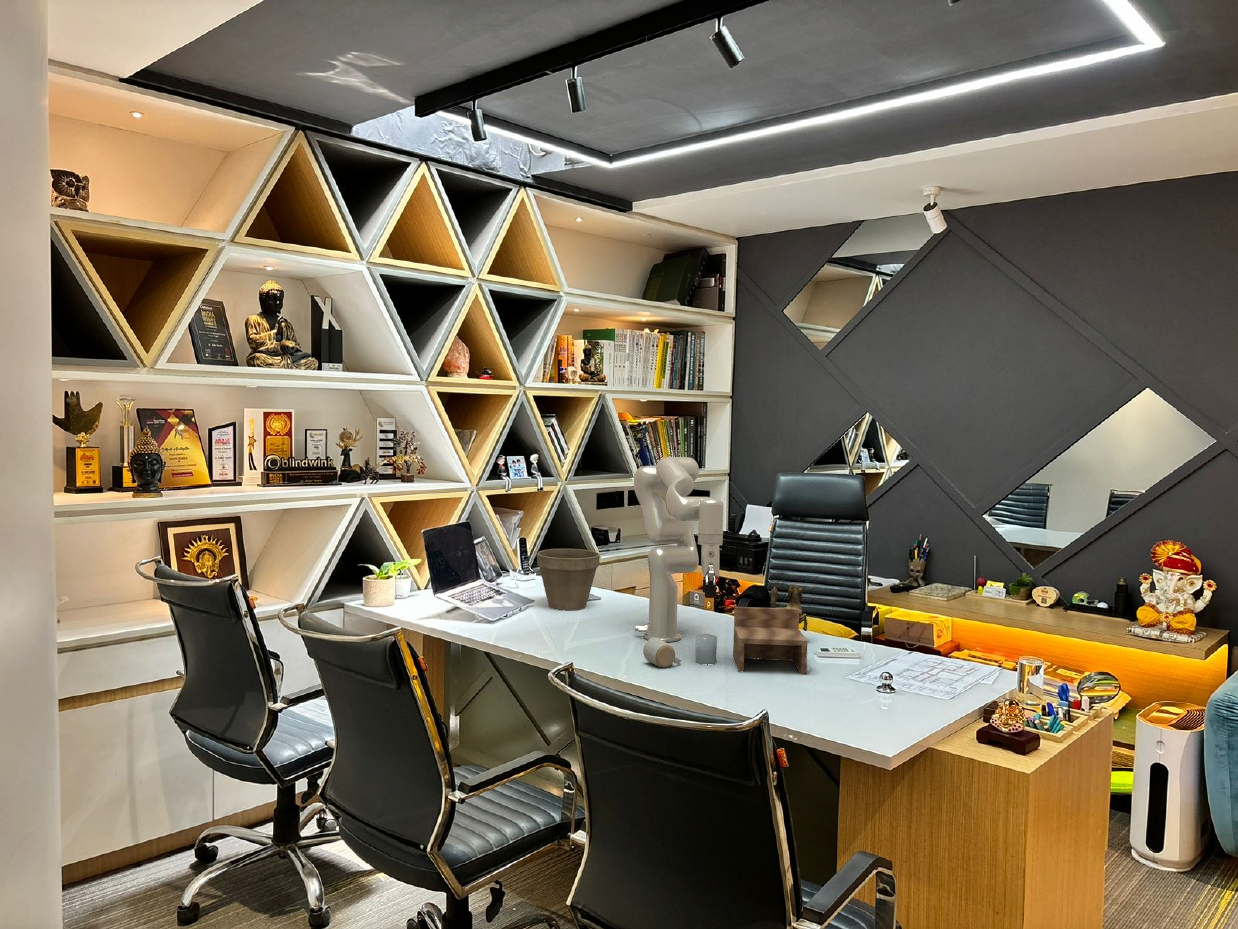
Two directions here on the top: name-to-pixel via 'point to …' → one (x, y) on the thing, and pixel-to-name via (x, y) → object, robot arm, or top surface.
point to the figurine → (791, 601)
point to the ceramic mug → (660, 653)
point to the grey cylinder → (706, 649)
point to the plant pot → (567, 576)
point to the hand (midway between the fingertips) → (708, 595)
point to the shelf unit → (768, 636)
